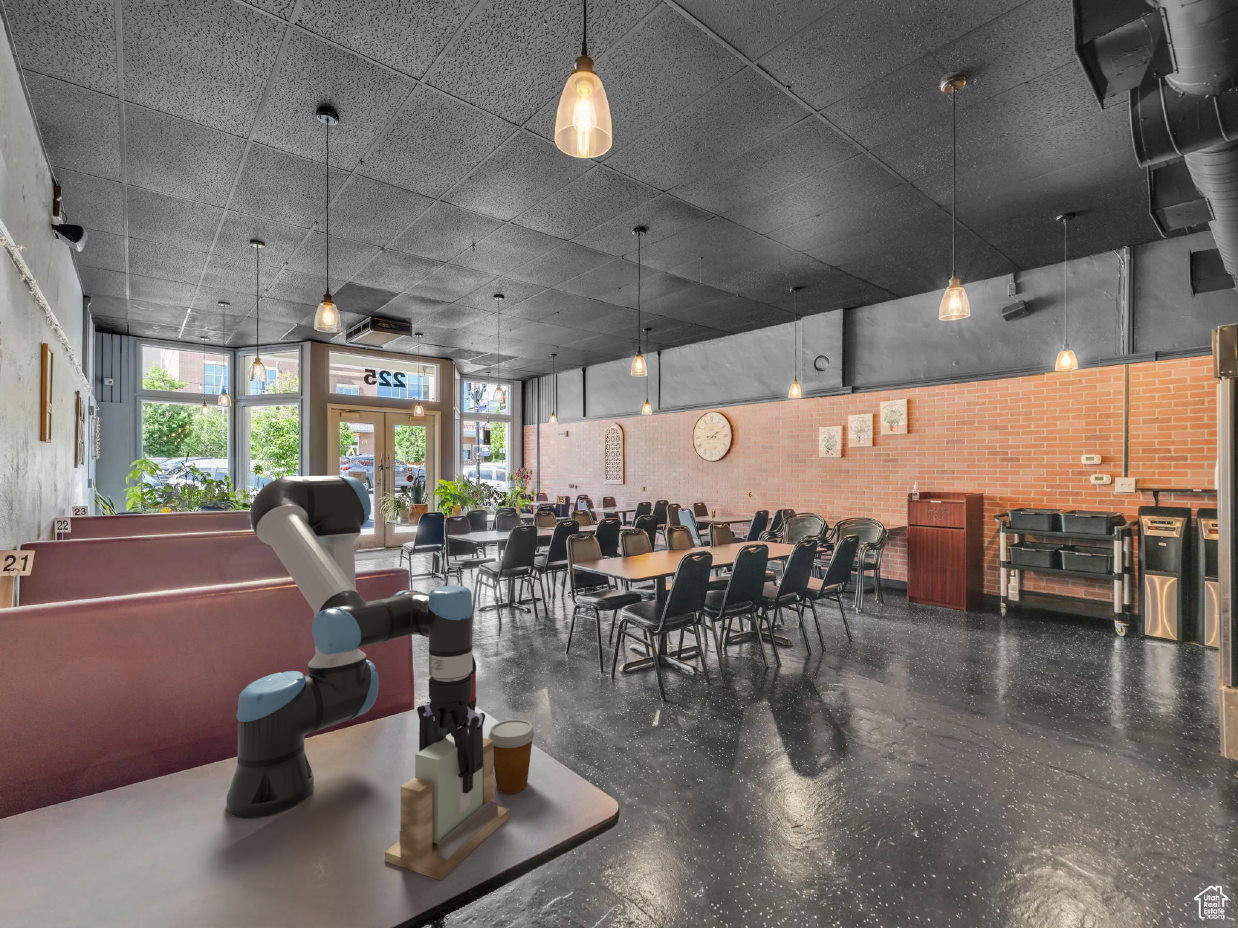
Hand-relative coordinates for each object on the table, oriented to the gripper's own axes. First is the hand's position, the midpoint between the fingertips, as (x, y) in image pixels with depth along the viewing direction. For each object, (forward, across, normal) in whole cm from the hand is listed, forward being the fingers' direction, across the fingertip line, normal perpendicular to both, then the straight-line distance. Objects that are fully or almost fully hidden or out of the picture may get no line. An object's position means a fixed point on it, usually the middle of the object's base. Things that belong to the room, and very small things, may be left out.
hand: (450, 805), depth 105 cm
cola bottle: (+6, -19, +25) cm, 32 cm away
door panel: (+3, 0, 0) cm, 3 cm away
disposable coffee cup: (+6, 0, +19) cm, 20 cm away
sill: (+6, 0, 0) cm, 6 cm away
